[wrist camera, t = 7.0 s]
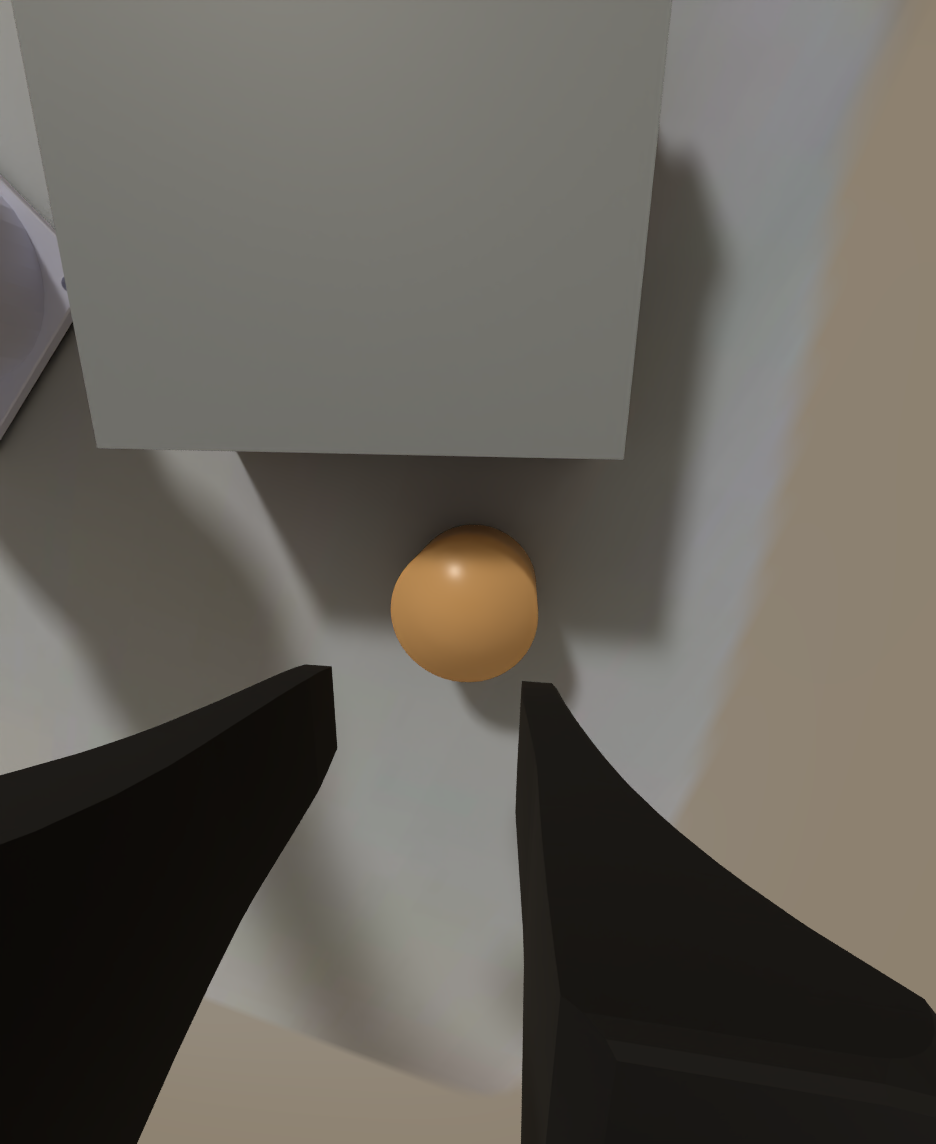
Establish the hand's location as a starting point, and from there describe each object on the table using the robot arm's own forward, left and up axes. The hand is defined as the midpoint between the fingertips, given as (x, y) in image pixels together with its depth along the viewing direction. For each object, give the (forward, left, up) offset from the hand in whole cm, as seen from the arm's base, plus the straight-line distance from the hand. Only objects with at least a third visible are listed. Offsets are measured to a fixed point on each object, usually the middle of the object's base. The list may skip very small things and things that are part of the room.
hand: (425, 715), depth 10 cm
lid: (+6, +10, -6) cm, 14 cm away
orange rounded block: (0, 0, -10) cm, 10 cm away
